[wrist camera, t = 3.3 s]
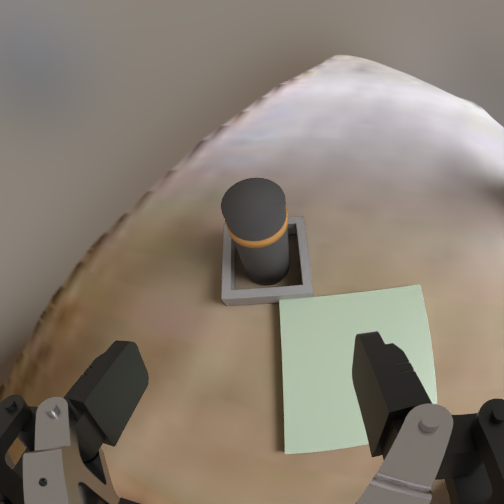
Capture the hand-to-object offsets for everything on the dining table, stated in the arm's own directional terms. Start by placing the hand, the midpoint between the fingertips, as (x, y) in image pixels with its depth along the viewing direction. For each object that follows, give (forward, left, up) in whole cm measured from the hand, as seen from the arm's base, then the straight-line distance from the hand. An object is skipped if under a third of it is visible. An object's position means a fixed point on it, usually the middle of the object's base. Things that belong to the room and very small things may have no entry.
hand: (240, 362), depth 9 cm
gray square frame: (0, -11, -15) cm, 19 cm away
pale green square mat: (-8, 0, -15) cm, 17 cm away
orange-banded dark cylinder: (0, -11, -15) cm, 19 cm away
